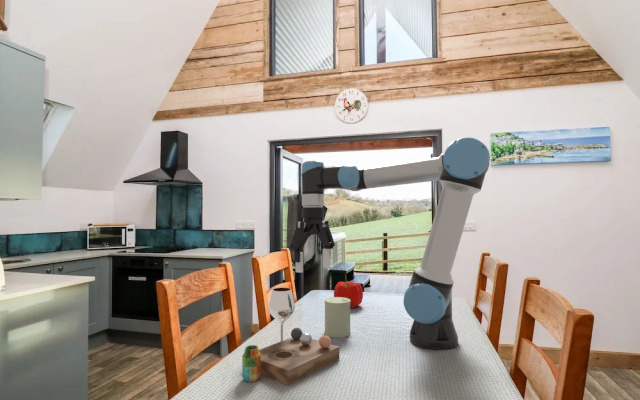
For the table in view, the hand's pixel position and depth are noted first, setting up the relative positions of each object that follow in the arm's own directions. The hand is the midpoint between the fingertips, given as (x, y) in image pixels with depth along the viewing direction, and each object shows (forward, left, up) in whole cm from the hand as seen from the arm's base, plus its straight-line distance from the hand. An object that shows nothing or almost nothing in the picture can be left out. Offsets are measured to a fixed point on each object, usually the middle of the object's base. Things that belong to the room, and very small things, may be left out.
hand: (313, 269), depth 127 cm
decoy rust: (-15, +13, -17) cm, 26 cm away
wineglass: (+2, +13, -23) cm, 26 cm away
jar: (-8, +34, -23) cm, 41 cm away
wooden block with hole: (-10, +20, -23) cm, 32 cm away
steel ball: (-10, +15, -17) cm, 25 cm away
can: (-3, -9, -23) cm, 25 cm away
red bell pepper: (+15, -42, -23) cm, 51 cm away
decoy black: (-4, +13, -17) cm, 22 cm away
